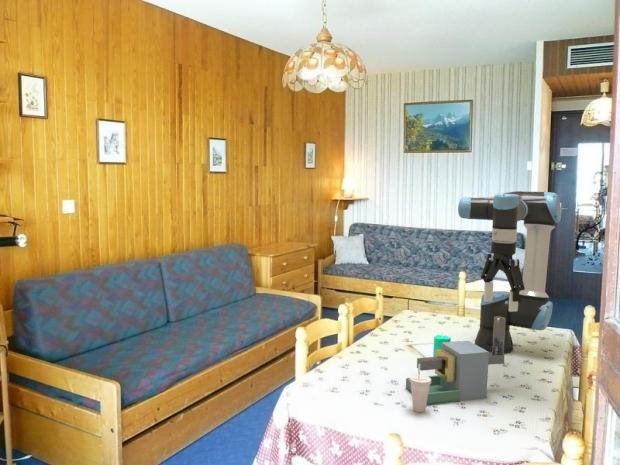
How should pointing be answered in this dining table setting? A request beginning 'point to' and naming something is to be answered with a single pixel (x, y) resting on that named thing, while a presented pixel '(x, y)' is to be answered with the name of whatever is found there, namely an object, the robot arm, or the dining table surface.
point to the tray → (437, 392)
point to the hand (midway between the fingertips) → (500, 306)
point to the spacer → (446, 366)
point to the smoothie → (420, 391)
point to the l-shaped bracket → (494, 356)
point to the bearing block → (468, 369)
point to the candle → (440, 342)
